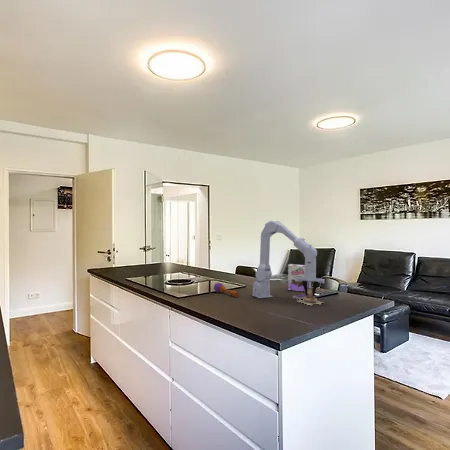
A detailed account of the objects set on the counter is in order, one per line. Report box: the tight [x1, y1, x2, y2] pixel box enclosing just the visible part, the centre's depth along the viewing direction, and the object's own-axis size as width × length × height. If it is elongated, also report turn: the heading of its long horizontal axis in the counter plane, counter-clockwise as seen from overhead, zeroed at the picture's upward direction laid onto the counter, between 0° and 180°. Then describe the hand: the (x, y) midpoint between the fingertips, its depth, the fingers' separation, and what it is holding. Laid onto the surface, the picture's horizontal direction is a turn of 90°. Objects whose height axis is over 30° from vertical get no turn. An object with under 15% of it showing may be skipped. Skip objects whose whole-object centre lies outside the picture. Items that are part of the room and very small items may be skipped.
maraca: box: [213, 282, 240, 298], centre depth 190 cm, size 6×6×20 cm
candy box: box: [287, 263, 312, 292], centre depth 203 cm, size 14×6×16 cm, turn 62°
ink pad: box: [292, 294, 307, 300], centre depth 182 cm, size 8×6×2 cm
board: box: [296, 299, 324, 306], centre depth 171 cm, size 10×10×1 cm
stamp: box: [303, 287, 318, 303], centre depth 171 cm, size 5×5×7 cm
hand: (310, 295), depth 171 cm, fingers closed on stamp, 3 cm apart
